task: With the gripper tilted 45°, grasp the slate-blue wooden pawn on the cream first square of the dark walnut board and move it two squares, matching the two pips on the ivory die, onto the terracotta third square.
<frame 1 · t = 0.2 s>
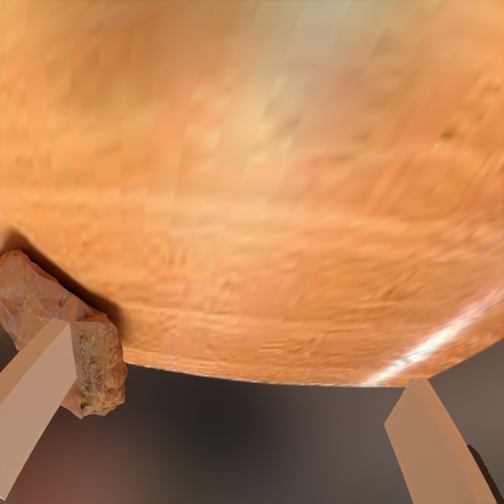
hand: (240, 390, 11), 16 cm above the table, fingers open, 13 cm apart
rock: (70, 301, 43), on the table
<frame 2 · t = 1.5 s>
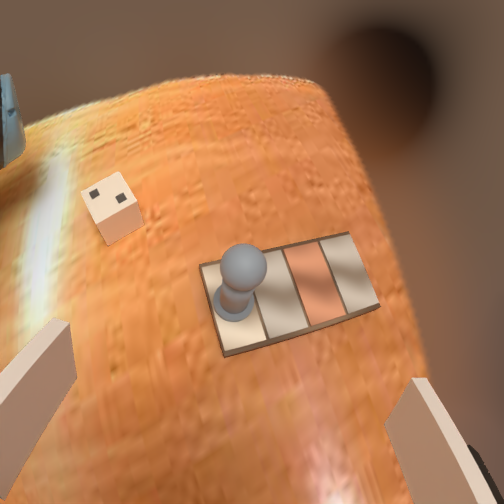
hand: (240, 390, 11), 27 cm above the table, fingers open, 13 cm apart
die: (117, 220, 43), on the table
board: (292, 291, 42), on the table
pawn: (233, 302, 39), point 2 cm above the table, touching board
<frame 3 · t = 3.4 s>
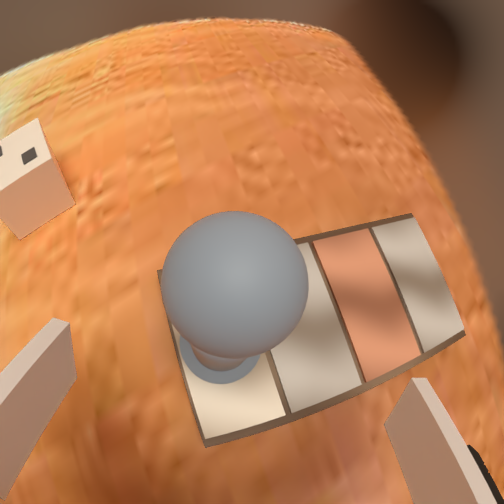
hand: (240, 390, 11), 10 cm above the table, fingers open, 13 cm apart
die: (38, 198, 24), on the table
board: (329, 316, 23), on the table
pawn: (220, 346, 19), point 2 cm above the table, touching board
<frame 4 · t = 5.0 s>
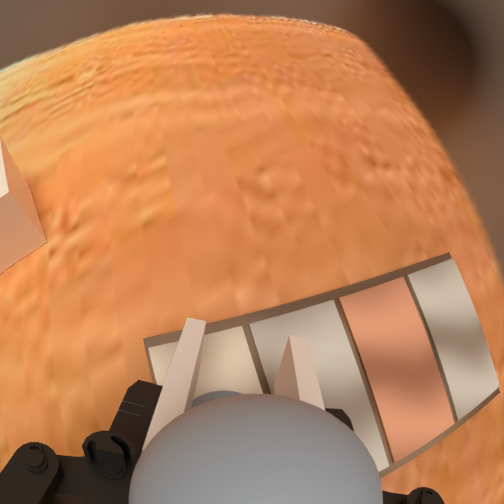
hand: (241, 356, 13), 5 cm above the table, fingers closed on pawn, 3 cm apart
die: (7, 232, 19), on the table
board: (354, 386, 18), on the table
pawn: (224, 435, 14), point 2 cm above the table, touching board, gripper
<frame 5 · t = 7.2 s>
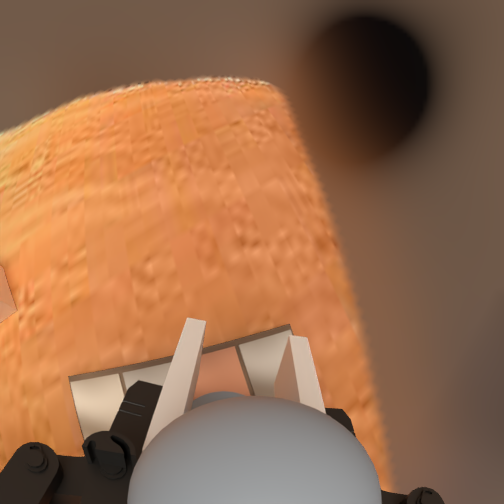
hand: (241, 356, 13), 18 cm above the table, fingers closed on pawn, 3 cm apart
board: (195, 416, 26), on the table
pawn: (223, 436, 14), point 14 cm above the table, touching gripper
when the fingers open (7 cm above the table, at t = 9.5 s): pawn drops 1 cm, resting on board.
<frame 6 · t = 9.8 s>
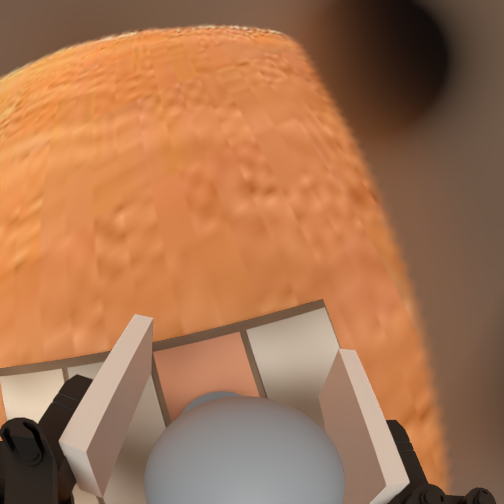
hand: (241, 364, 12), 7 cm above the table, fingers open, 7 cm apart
board: (177, 440, 16), on the table
pawn: (222, 433, 15), point 2 cm above the table, touching board
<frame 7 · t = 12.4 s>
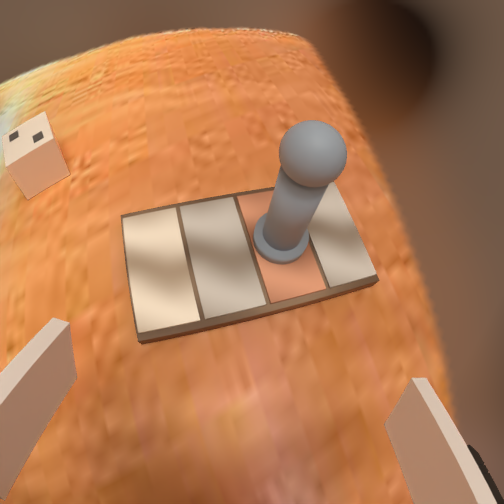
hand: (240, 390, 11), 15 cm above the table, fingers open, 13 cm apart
die: (43, 171, 31), on the table
board: (248, 254, 30), on the table
pawn: (279, 239, 29), point 2 cm above the table, touching board
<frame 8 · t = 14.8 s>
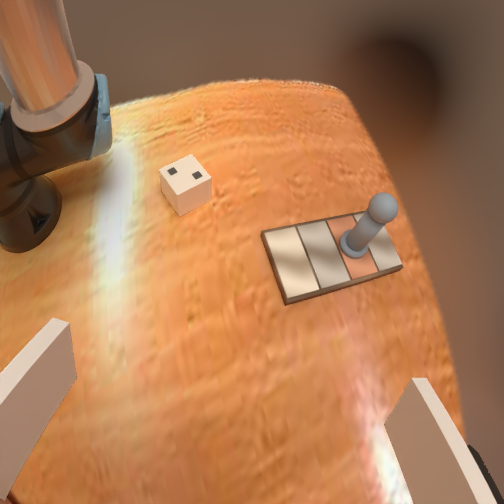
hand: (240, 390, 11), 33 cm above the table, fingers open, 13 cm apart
die: (186, 196, 53), on the table
board: (334, 253, 52), on the table
pawn: (352, 245, 51), point 2 cm above the table, touching board
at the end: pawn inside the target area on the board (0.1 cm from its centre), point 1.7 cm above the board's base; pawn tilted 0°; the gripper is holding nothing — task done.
